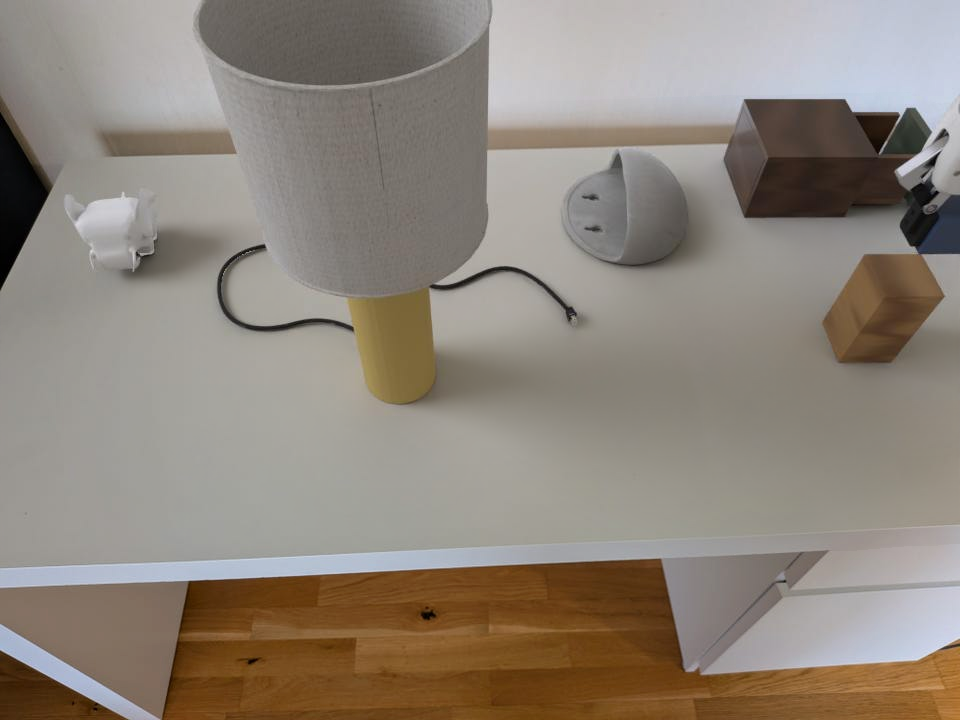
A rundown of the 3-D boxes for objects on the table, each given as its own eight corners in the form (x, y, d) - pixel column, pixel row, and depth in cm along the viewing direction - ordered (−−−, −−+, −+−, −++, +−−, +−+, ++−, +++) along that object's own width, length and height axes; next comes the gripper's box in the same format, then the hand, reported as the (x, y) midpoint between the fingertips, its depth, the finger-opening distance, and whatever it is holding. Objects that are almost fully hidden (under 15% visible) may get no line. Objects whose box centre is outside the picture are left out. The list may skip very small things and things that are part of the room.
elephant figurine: (82, 292, 82) (45, 237, 75) (101, 225, 89) (69, 169, 82) (164, 284, 83) (135, 229, 76) (176, 218, 90) (150, 163, 83)
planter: (712, 226, 79) (571, 222, 79) (695, 270, 85) (564, 266, 85) (687, 129, 90) (564, 126, 91) (674, 174, 96) (559, 171, 96)
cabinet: (816, 159, 98) (845, 98, 91) (845, 217, 91) (879, 157, 83) (723, 159, 98) (743, 98, 91) (743, 217, 91) (768, 157, 83)
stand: (872, 321, 80) (921, 253, 71) (891, 362, 76) (945, 296, 67) (821, 321, 80) (864, 253, 71) (838, 362, 76) (885, 296, 67)
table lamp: (230, 491, 66) (1, 139, 34) (215, 255, 86) (61, -109, 54) (613, 400, 73) (720, 34, 41) (519, 200, 92) (542, -153, 60)
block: (944, 223, 67) (968, 189, 63) (962, 254, 64) (989, 220, 61) (901, 224, 67) (923, 190, 63) (918, 254, 64) (942, 221, 61)
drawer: (917, 156, 97) (947, 107, 91) (950, 209, 91) (985, 160, 84) (800, 156, 97) (823, 107, 91) (825, 209, 90) (851, 160, 84)
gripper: (971, 84, 48) (859, 265, 63) (1208, 80, 48) (1040, 263, 63) (929, 30, 53) (833, 211, 68) (1146, 27, 53) (1003, 209, 67)
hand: (934, 234), depth 65 cm, fingers closed on block, 4 cm apart
